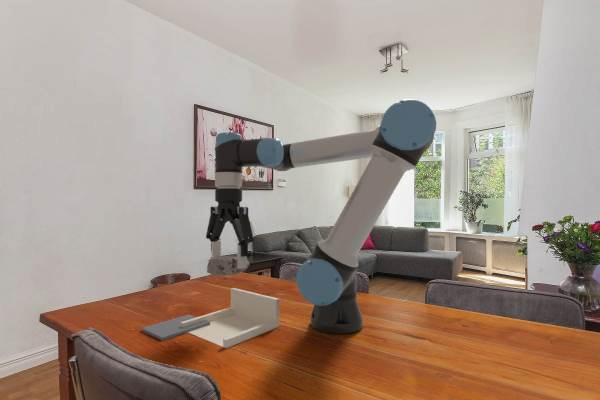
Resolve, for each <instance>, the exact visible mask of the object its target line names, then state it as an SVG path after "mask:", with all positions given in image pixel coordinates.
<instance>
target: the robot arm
mask: <svg viewBox="0 0 600 400" xmlns="http://www.w3.org/2000/svg"><path fill="white" fill-rule="evenodd" d="M436 130H437V119H436V116H435V113H434V112H433V110H432V109H431V108H430V106H429V105H428V104H426V103H425V102H423V101H421V100H418V99H413V98H409V99H408V98H407V99H402V100H399V101H396V102H394V103H392V104H391V105H390V106H389V107H388V108H387V110H385V112H384V114H383V116H382V119H381V121H380V124H378V126H377V127H376V128H375V129H369V130H365V131H357V132H352V133H345V134H339V135H333V136H328V137H321V138H316V139H309V140H303V141H298V142H292V143H285V144H283V143H282V142H281V140H280V138H275V137H270V138H269V137H264V138H255V139H254V138H252V139H251V138H250V139H243V136H242V135H241V134H240V133H237V132H233V131H232V132H226V131H225V132H219V133H217V135H216V137H215V144H214V145H215V146H214V156H215V171H214V187H216V189H215V190H214V191H215V192H214V201H215V202H217V203H218V204H217V206H210V213H209V214H210V215H209V220H208V225H207V229H206V235H205V238H206V239H207V240H209V241H210V251H211V252H210V253H211V259H217V258H221V257H222V241H221V235H222V233H223V230H224V227H225V225H226V223H228V222H229V223H230V224H231V225H232V228H233V230H234V234H235V235H236V237H237V238H236V239H237V241H238V243H237V245H236V247H237V248H236V249H237V251H236V252H237V256H236V257H237V269H242V268H247V260H248V255H249V244H251V243H253V242H254V241H255V240H254V234H253V230H252V226H251V222H250V218H249V207H248V206H241V202H242V201H243V190H242V189H241V188H242V186H243V167H244V168H249V167H260V168H266V169H270V170H275V171H277V172H287V171H290V170H291V169H295V168H302V167H309V166H311V167H312V166H317V165H324V164H331V163H339V162H347V161H354V160H361V159H367V158H368V159H369V158H370V160H369V162H368V164H367V165H366V168H365V169H364V171H363V173H362V175H361V176H360V178H359V180H358V182H357V183H356V186H355V187H354V189H353V191H352V192H351V194H350V196H349V197H348V200H347V201H346V203H345V206H344V207H343V209H342V211H341V213H340V214H339V216H338V217H337V220H336V221H335V223H334V225H333V226H332V228H331V231H330V233H329V234H328V236H327V238H326V239H321V240H319V241H318V242H317V243H316V245H315V247H314V249H313V250H312V252H311V253H310V256H309V257H308V259H307V260H305V261H304V262H303V264H301V266H300V267H299V268H298V271H297V273H296V285H297V289H298V292H299V294H300V295H301V296H302V297H303V298H304V300H305V301H307V302H309V303H310V304H312V305H314V306H313V309H312V311H311V314H310V325H311V327H312V328H313V329H314V330H317V331H319V332H323V333H327V334H336V335H341V334H342V335H343V334H345V335H346V334H352V333H355V332H358V331H360V330H361V329H362V328H363V327H364V326H363V324H364V323H363V316H362V313H361V308H360V306H359V301H358V299H357V297H358V296H357V291H358V290H357V285H358V284H357V269H358V266H359V261H358V255H359V253H360V251H361V249H362V247H363V245H364V243H365V242H366V240H367V238H368V237H369V235H370V233H371V232H372V230H373V228H374V226H375V225H376V223H377V221H378V219H379V218H380V216H381V215H382V212H383V210H384V209H385V207H386V206H387V204H388V202H389V200H390V198H391V197H392V195H393V194H394V192H395V190H396V189H397V186H398V185H399V183H400V181H401V179H402V178H403V176H404V175H405V173H407V171H411V170H414V169H416V168H417V167H416V166H417V165H418V164H419V162H420V160H421V159H422V156H423V154H424V153H425V152H426V151H427V150H428V149H429V148H430V147H431V145H432V144H433V141H434V138H435V133H436ZM247 269H248V268H247Z"/></svg>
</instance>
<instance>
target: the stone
mask: <svg viewBox="0 0 600 400" xmlns="http://www.w3.org/2000/svg"><path fill="white" fill-rule="evenodd" d="M206 266H207V267H206V269H207V270H206V272H207V274H209V275H214V276H235V275H238V274H240V273H242V272H245V271H246V270H247V269H248V268H249V266H251V264H250V262H249V260H248V259H247V268H242V269H237V256H230V255H229V256H228V255H225V256H221V258H217V259H212V258H210V259H209V260H208V262H207V265H206Z"/></svg>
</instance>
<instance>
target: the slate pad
mask: <svg viewBox="0 0 600 400" xmlns="http://www.w3.org/2000/svg"><path fill="white" fill-rule="evenodd" d="M197 317H198V316H195V315H191V314H185V315H183V316H182V315H181V316H178V317H175V318H171V319H168V320H165V321H162V322H161V321H160V322H157V323H154V324H151V325H147V326H144V327H141V332H142V333H144V334H145V333H146V335H150V336H152V337H153V338H156V339H158V340H159V341H165V340H170V339H171V338H174V337H178V336H181V335H184V334H186V333H188V332H190V331H193V330H196V329H199V328H202V327H205V326H208V325H210V322H209V321H206V320H205V321H202V322H199V323H196V324H193V325H189V326H186V327H181V322H183V321H187V320H190V319H193V318H197Z"/></svg>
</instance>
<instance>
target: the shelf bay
mask: <svg viewBox="0 0 600 400" xmlns="http://www.w3.org/2000/svg"><path fill="white" fill-rule="evenodd" d="M196 317H197V318H193V319H190V320H187V321H183V322H181V327H186V326H189V325H193V324H196V323H199V322H202V321H205V320H206V321H209V322H210V325H208V326H205V327H202V328H199V329H196V330H193V331H190V332H187V333H188V334H190V335H193V336H195V337H198V338H200V339H202V340H205V341H207V342H210V343H212V344H213V345H217V346H219V347H222V348H224V349H229V348H231V347H234V346H236V345H238V344H241V343H242V342H245V341H248V340H250V339H252V338H254V337H255V338H256V337H258V336H260V335H262V334H265V333H268V332H269V331H272V330H275V329H277V328H279V327H280V298H277V297H273V296H268V295H264V294H261V293H256V292H252V291H249V290H244V289H239V288H235V287H231V288H230V307H227V308H224V309H220V310H217V311H213V312H210V313H206V314H204V315H201V316H196Z"/></svg>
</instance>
